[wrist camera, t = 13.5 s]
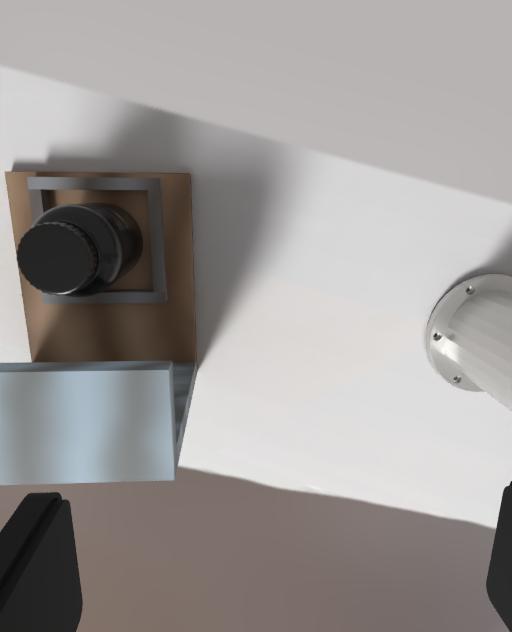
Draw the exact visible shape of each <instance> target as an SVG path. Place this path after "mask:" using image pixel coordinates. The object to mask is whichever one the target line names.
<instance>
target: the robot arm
mask: <svg viewBox="0 0 512 632" xmlns="http://www.w3.org/2000/svg"><path fill="white" fill-rule="evenodd" d="M466 289H467V290H466ZM434 334H435V335H434ZM426 350H427V354H428V358H429V360H430V362H431V364H432V366H433V368H434V369H435V370H436V372H437V373H438V374H439V375H440V376H441V377H442V378H443V379H445V380H446V381H447V382H448V383H450V384H451V385H453V386H455V387H457V388H460V389H463V390H466V391H472V392H487V393H488V394H489V395H491V396H492V397H493V398H495V399H496V400H497V401H499V402H500V403H501V404H503V405H504V406H505V407H507V408H508V409H509V410H511V411H512V276H508V275H503V274H485V275H480V276H476V277H473V278H470V279H468V280H465V281H464V282H462V283H460V284H459V285H457V286H455V287H454V288H453V289H452V290H450V291H449V292H448V293H447V294H446V295H445V296H444V297H443V298H442V299H441V301H440V302H439V303H438V304H437V306H436V308H435V309H434V311H433V313H432V315H431V317H430V320H429V323H428V325H427V331H426ZM486 586H487V587H486V588H487V593H488V596H489V599H490V601H491V603H492V604H493V606H494V608H495V609H496V611H497V612H498V614H499V615H500V617H501V618H502V620H503V621H504V623H505V625H506V626H507V628H508V629H509V631H510V632H512V481H511V482H510V485H509V486H507V487H506V488H505V489H504V491H503V496H502V502H501V507H500V512H499V518H498V523H497V528H496V534H495V539H494V544H493V549H492V555H491V560H490V566H489V571H488V576H487V581H486ZM81 612H82V593H81V585H80V577H79V570H78V562H77V554H76V546H75V539H74V531H73V523H72V515H71V508H70V502H69V501H68V500H62V497H61V495H60V493H58V492H51V493H30V494H28V495H27V496H26V497H25V498H24V499H23V501H22V502H21V503H20V505H19V506H18V508H17V509H16V511H15V512H14V514H13V515H12V516H11V518H10V519H9V521H8V522H7V523H6V525H5V526H4V528H3V529H2V530H1V532H0V632H76V630H77V627H78V624H79V621H80V618H81Z"/></svg>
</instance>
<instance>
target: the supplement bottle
mask: <svg viewBox="0 0 512 632" xmlns="http://www.w3.org/2000/svg"><path fill="white" fill-rule="evenodd" d="M142 251H143V236H142V232H141V230H140V227H139V225H138V223H137V222H136V220H135V219H134V218H133V217H132V216H131V215H130V214H129V213H128V212H127V211H125V210H124V209H122V208H120V207H118V206H116V205H113V204H109V203H84V204H68V205H61V206H57V207H54V208H51V209H49V210H47V211H46V212H44V213H43V214H41V215H40V216H39V217H38V218H37V219H36V221H35V222H34V223H33V225H32V226H31V228H30V229H29V231H28V232H26V233H25V234H24V237H22V238H21V240H20V243H19V244H18V250H17V255H18V256H17V261H18V267H19V268H20V269H21V273H22V274H23V275H24V277H25V279H26V280H27V281H29V283H30V285H32V286H34V287H35V288H36V289H38V290H41V291H42V292H43V293H48V294H50V295H53V294H54V295H57V296H59V295H65V296H69V297H89V296H93V295H96V294H98V293H100V292H102V291H104V290H106V289H107V288H108V287H110V286H111V285H112V284H114V283H115V282H116V281H118V280H119V279H120V278H122V277H123V276H124V275H126V274H127V273H128V272H130V271H131V270H132V269H133V268H134V267H135V266H136V264H137V263H138V261H139V260H140V257H141V255H142Z"/></svg>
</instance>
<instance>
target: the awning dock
mask: <svg viewBox="0 0 512 632" xmlns="http://www.w3.org/2000/svg"><path fill="white" fill-rule="evenodd" d="M5 177H6V184H7V191H8V198H9V205H10V212H11V219H12V226H13V233H14V240H15V247H16V254H17V250H18V244H19V243H20V240H21V238H22V237H24V234H25V233H26V232H28V231H29V229H30V228H31V226H32V225H33V223H34V222H35V221H36V219H37V218H38V217H39V216H40V215H41V214H43V213H44V212H46V211H47V210H49V209H51V208H54V207H57V206H61V205H68V204H84V203H109V204H113V205H116V206H118V207H120V208H122V209H124V210H125V211H127V212H128V213H129V214H130V215H131V216H132V217H133V218H134V219H135V220H136V222H137V223H138V225H139V227H140V230H141V232H142V236H143V251H142V255H141V257H140V260H139V261H138V263H137V264H136V266H135V267H134V268H133V269H132V270H131V271H130V272H128V273H127V274H126V275H124V276H123V277H122V278H120V279H119V280H118V281H116V282H115V283H114V284H112V285H111V286H110V287H108V288H107V289H106V290H104V291H102V292H100V293H98V294H96V295H93V296H89V297H69V296H65V295H59V296H57V295H54V294H53V295H50V294H48V293H43V292H42V291H41V290H38V289H36V288H35V287H34V286H32V285H30V283H29V281H27V280H26V279H25V277H24V275H23V274H22V273H21V269H20V268H19V267H18V268H19V275H20V282H21V289H22V297H23V304H24V311H25V318H26V325H27V332H28V339H29V346H30V353H31V360H32V363H0V485H23V484H57V483H92V482H123V481H124V482H127V481H161V480H175V475H176V470H177V466H178V461H179V456H180V451H181V447H182V442H183V437H184V432H185V427H186V423H187V418H188V413H189V408H190V404H191V399H192V394H193V389H194V384H195V380H196V375H197V356H196V325H195V295H194V264H193V233H192V203H191V174H190V173H97V172H5ZM17 256H18V255H17Z"/></svg>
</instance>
